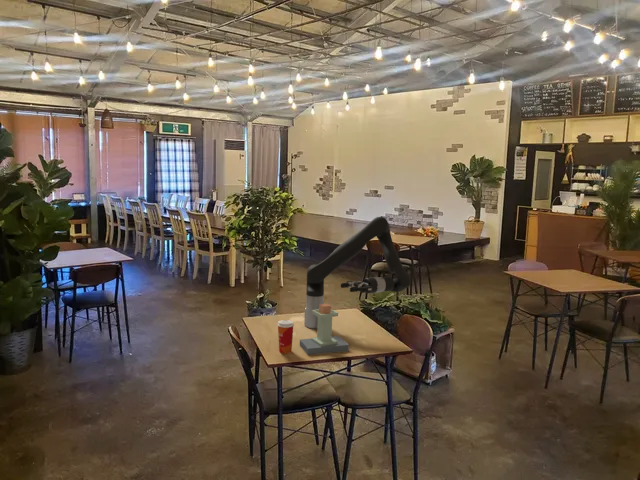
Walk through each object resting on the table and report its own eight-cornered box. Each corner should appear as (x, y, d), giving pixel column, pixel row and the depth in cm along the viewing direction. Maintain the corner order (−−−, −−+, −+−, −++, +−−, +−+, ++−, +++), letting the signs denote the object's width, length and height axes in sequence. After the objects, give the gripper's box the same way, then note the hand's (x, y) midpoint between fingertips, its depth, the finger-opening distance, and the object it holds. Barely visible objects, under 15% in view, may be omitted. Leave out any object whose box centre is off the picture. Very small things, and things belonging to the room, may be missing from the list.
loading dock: (307, 355, 228) (307, 348, 228) (299, 345, 241) (299, 339, 240) (348, 350, 235) (348, 344, 234) (339, 341, 247) (339, 335, 247)
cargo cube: (318, 312, 236) (319, 304, 236) (326, 311, 238) (326, 303, 238) (323, 315, 233) (323, 306, 232) (330, 314, 235) (330, 305, 234)
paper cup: (276, 348, 236) (277, 319, 234) (293, 348, 236) (293, 319, 235) (276, 354, 228) (277, 324, 226) (293, 354, 229) (294, 324, 227)
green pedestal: (311, 340, 239) (312, 310, 237) (328, 337, 243) (328, 308, 241) (320, 346, 231) (321, 315, 229) (337, 343, 236) (338, 312, 234)
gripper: (366, 274, 252) (338, 276, 245) (382, 280, 240) (353, 283, 232) (365, 289, 253) (337, 291, 246) (382, 296, 241) (353, 298, 233)
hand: (345, 287), depth 239 cm, fingers open, 8 cm apart
